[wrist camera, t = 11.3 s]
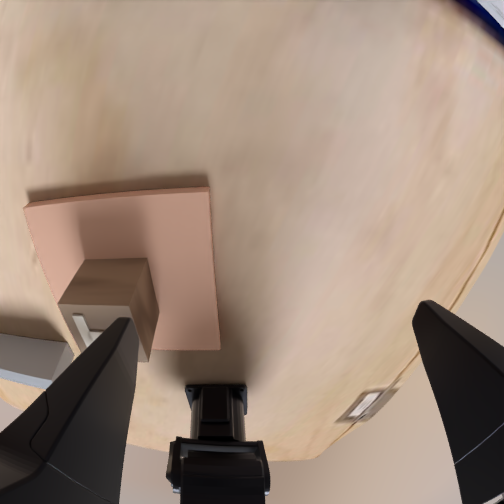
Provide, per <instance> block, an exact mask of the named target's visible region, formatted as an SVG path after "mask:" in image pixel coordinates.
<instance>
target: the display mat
mask: <svg viewBox="0 0 504 504" xmlns="http://www.w3.org/2000/svg"><path fill="white" fill-rule="evenodd" d="M23 210H24V214H25V217H26V221H27V224H28V228H29V231H30V234H31V237H32V240H33V243H34V246H35V249H36V252H37V255H38V258H39V261H40V264H41V266H42V269H43V272H44V274H45V277H46V279H47V282H48V284H49V287H50V289H51V292H52V294H53V296H54V299H55V301H56V303H58V302H59V300H60V298H61V296H62V295H63V293H64V291H65V290H66V288H67V287H68V285H69V283H70V282H71V280H72V279H73V277H74V275H75V274H76V272H77V271H78V269H79V268H80V266H81V265H82V263H83V262H84V260H86V259H120V258H148V263H149V268H150V273H151V277H152V282H153V286H154V291H155V295H156V299H157V303H158V307H159V311H160V313H159V317H158V322H157V326H156V330H155V335H154V339H153V344H152V348H151V350H220V343H221V341H220V331H219V320H218V308H217V296H216V284H215V271H214V257H213V242H212V226H211V208H210V189H209V187H190V188H171V189H155V190H141V191H128V192H116V193H105V194H95V195H86V196H77V197H68V198H60V199H52V200H45V201H38V202H31V203H29V204H27V205H26V206H25V207H24V208H23ZM57 306H58V305H57ZM58 308H59V307H58ZM59 310H60V309H59ZM60 312H61V311H60ZM61 314H62V313H61ZM62 317H63V316H62ZM63 319H64V318H63ZM64 321H65V320H64ZM65 323H66V322H65ZM66 325H67V324H66ZM67 327H68V326H67ZM68 329H69V328H68ZM69 331H70V330H69ZM70 333H71V332H70ZM71 335H72V334H71ZM72 337H73V336H72ZM73 339H74V338H73ZM74 341H75V340H74ZM75 343H76V342H75ZM76 345H77V344H76Z"/></svg>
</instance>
